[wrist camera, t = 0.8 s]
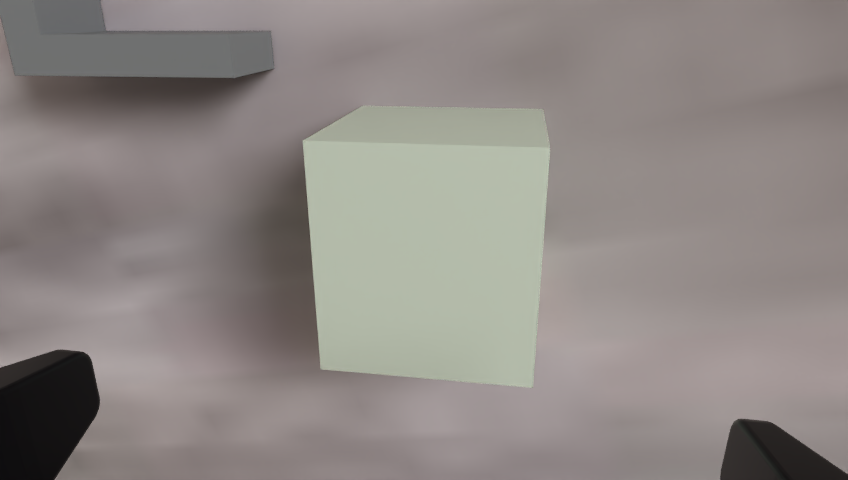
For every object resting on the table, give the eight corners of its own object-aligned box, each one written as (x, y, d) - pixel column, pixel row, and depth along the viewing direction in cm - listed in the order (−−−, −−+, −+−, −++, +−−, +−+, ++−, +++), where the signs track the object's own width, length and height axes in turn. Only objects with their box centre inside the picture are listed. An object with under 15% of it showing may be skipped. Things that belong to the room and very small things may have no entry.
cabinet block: (529, 309, 18) (531, 409, 14) (371, 298, 19) (322, 390, 14) (543, 108, 16) (550, 147, 12) (363, 105, 17) (302, 140, 12)
